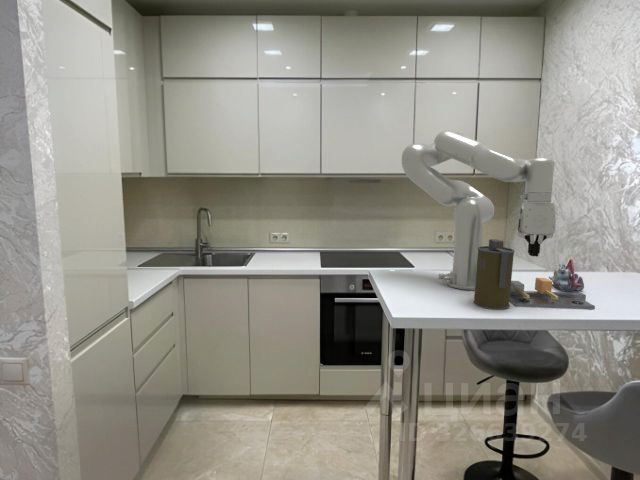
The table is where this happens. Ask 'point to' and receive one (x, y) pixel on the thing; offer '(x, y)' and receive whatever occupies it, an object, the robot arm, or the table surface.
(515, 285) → the fixed leg
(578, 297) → the rail
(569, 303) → the strip
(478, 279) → the canister
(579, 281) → the brake caliper
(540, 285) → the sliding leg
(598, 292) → the table surface
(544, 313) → the table surface
